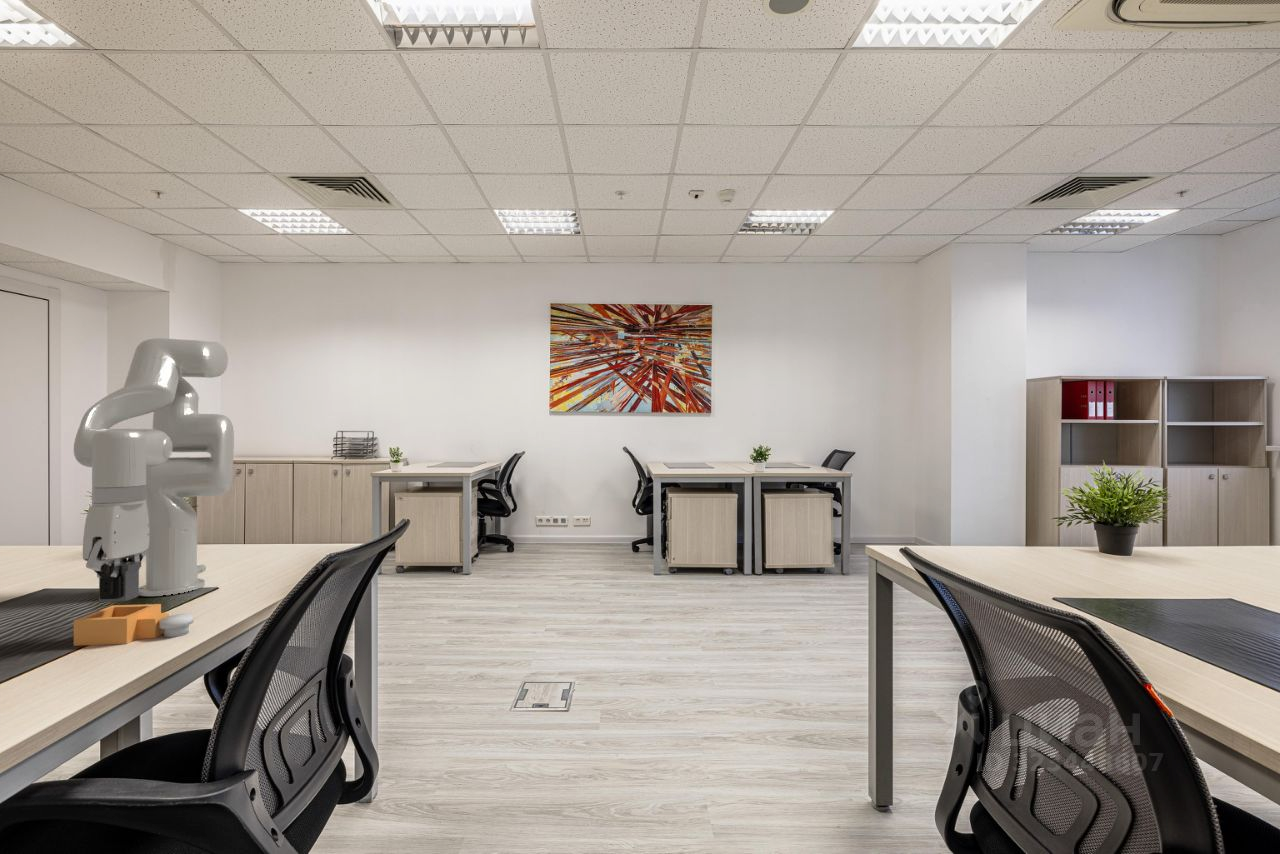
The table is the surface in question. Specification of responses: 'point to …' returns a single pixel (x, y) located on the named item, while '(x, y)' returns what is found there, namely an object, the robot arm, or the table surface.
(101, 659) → the table surface
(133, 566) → the grey rectangular block
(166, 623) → the orange handled frame
